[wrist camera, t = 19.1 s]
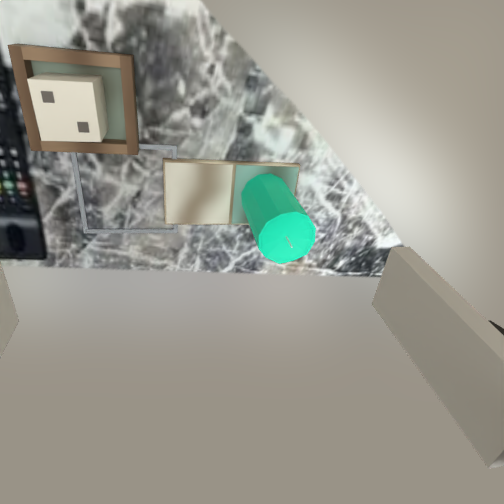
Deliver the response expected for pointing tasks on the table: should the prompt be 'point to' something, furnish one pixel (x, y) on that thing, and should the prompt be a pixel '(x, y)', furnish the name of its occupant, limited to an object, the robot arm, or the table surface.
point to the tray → (82, 62)
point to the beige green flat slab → (214, 188)
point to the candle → (277, 219)
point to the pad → (86, 230)
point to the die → (69, 106)
